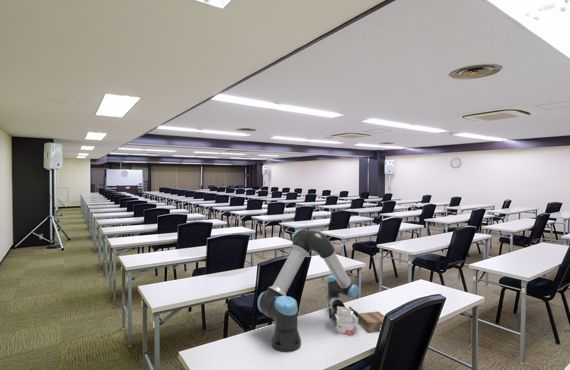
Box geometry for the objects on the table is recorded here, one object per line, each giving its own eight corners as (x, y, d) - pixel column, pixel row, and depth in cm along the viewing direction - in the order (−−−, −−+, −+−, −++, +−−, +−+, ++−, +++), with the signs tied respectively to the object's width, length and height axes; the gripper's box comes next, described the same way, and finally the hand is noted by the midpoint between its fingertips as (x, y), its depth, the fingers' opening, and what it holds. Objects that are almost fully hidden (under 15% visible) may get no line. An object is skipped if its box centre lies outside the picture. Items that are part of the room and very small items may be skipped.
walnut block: (368, 333, 178) (368, 322, 178) (358, 323, 191) (358, 313, 191) (389, 331, 181) (389, 320, 181) (378, 321, 194) (378, 311, 194)
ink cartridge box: (354, 331, 180) (353, 305, 179) (351, 335, 175) (351, 308, 175) (339, 328, 184) (339, 303, 183) (336, 332, 179) (336, 306, 179)
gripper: (354, 310, 198) (367, 327, 176) (319, 312, 196) (327, 329, 174) (354, 298, 198) (367, 313, 176) (319, 300, 196) (327, 315, 174)
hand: (347, 321), depth 175 cm, fingers closed on ink cartridge box, 9 cm apart
